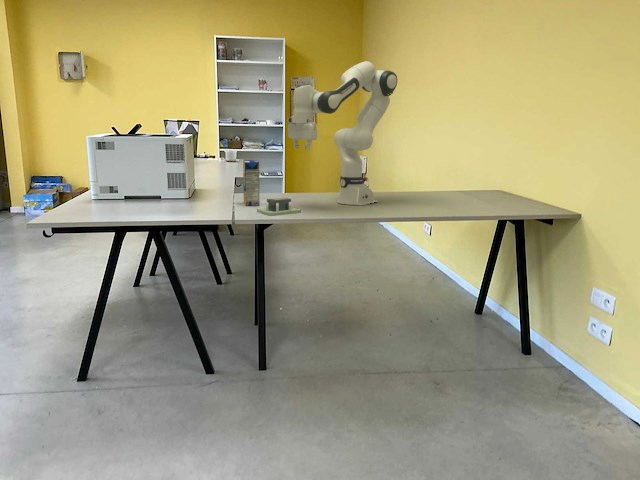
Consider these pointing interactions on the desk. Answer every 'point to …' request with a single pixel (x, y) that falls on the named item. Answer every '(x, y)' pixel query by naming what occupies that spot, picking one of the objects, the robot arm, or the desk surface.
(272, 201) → the block
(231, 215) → the desk surface
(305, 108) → the robot arm
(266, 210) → the green peg board
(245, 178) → the beverage box
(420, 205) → the desk surface
